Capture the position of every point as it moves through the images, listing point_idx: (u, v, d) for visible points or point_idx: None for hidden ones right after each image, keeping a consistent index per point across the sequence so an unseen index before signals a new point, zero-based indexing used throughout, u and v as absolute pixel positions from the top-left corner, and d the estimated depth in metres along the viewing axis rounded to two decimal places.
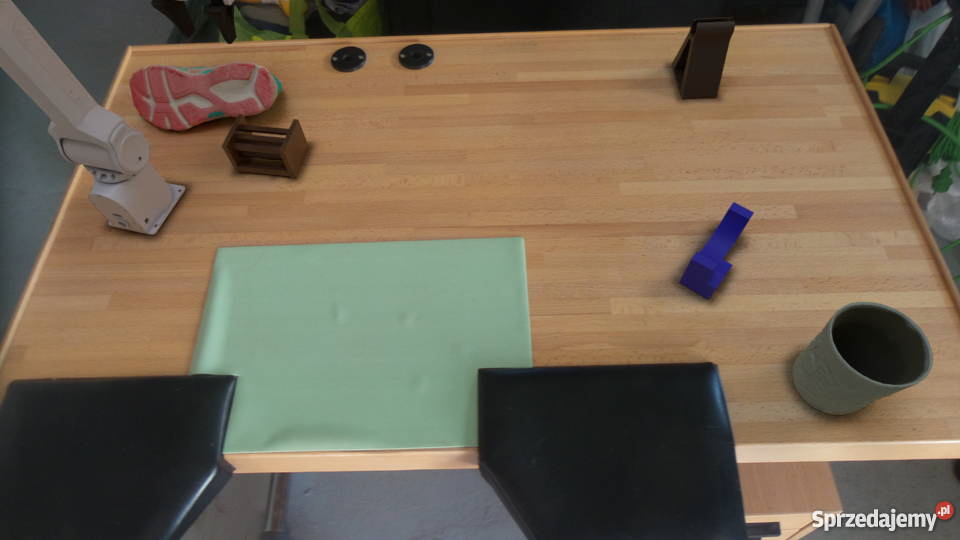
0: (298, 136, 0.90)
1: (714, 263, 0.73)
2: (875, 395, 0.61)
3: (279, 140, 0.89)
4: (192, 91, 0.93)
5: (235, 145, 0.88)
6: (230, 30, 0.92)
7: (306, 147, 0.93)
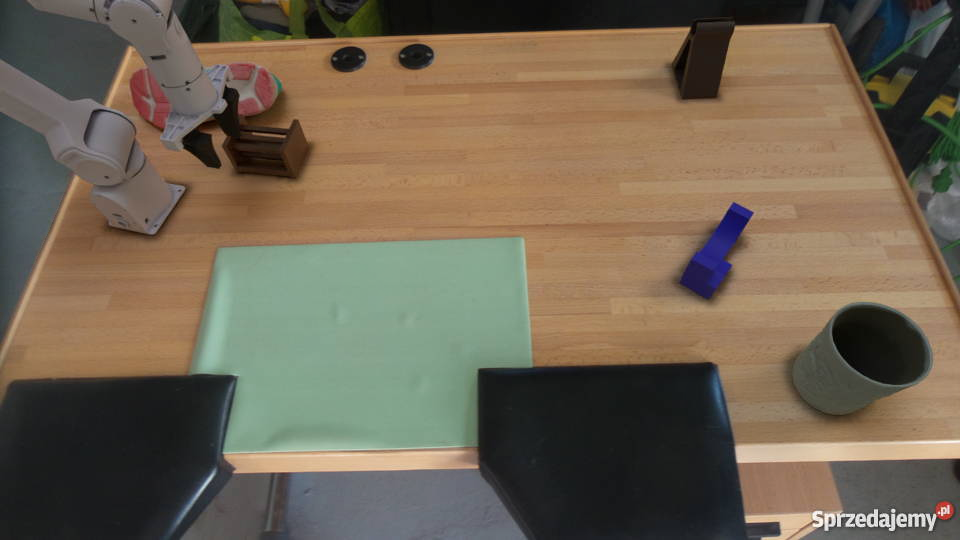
0: (298, 136, 0.90)
1: (714, 263, 0.73)
2: (875, 395, 0.61)
3: (279, 140, 0.89)
4: None
5: (235, 145, 0.88)
6: (206, 159, 0.78)
7: (306, 147, 0.93)
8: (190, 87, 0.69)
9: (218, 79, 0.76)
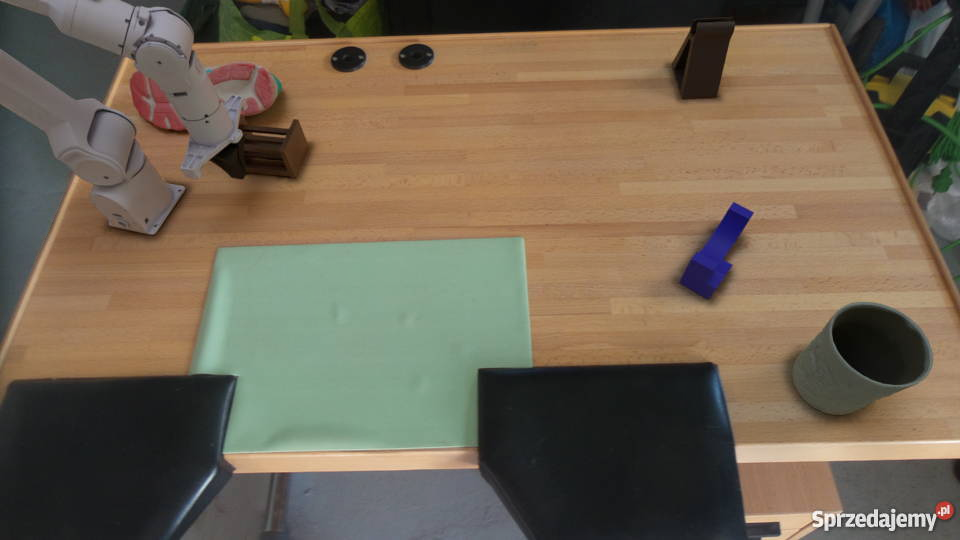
0: (298, 136, 0.90)
1: (714, 263, 0.73)
2: (875, 395, 0.61)
3: (279, 140, 0.89)
4: None
5: None
6: (231, 170, 0.84)
7: (306, 147, 0.93)
8: (209, 120, 0.74)
9: (234, 109, 0.80)
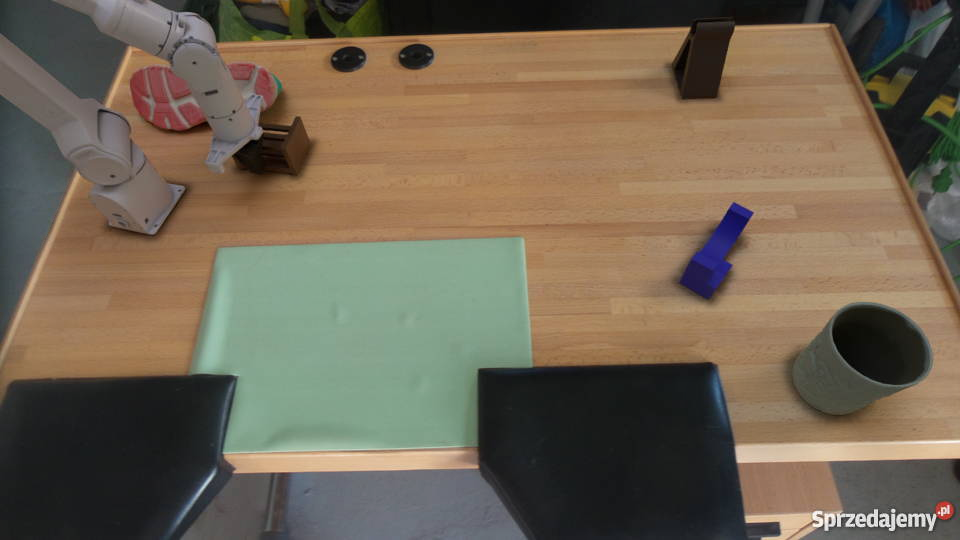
0: (300, 133, 0.90)
1: (714, 263, 0.73)
2: (875, 395, 0.61)
3: (281, 137, 0.89)
4: None
5: None
6: (251, 165, 0.88)
7: (308, 144, 0.94)
8: (232, 118, 0.78)
9: (254, 108, 0.85)
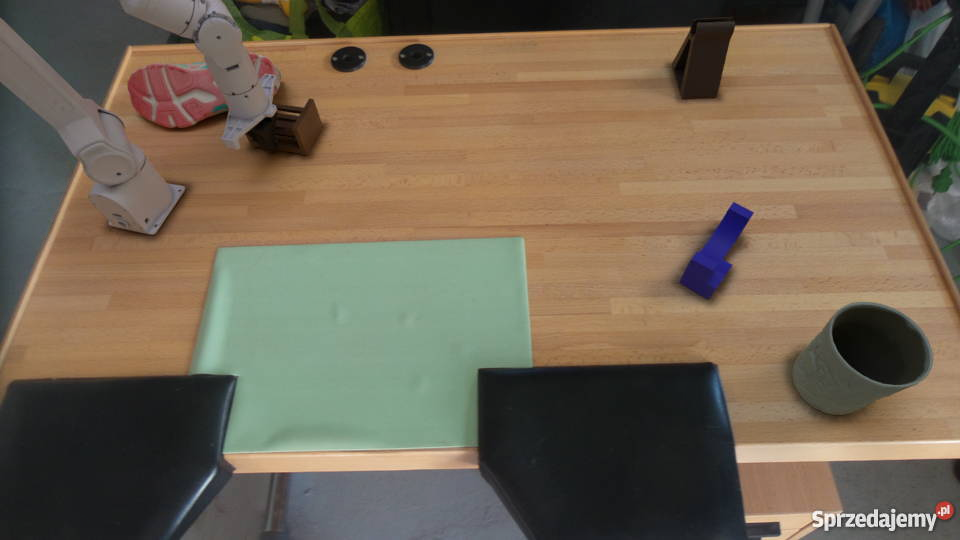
0: (312, 115, 0.92)
1: (714, 263, 0.73)
2: (875, 395, 0.61)
3: (294, 118, 0.91)
4: (195, 86, 0.94)
5: None
6: (264, 143, 0.91)
7: (320, 127, 0.96)
8: (248, 94, 0.81)
9: (268, 87, 0.87)
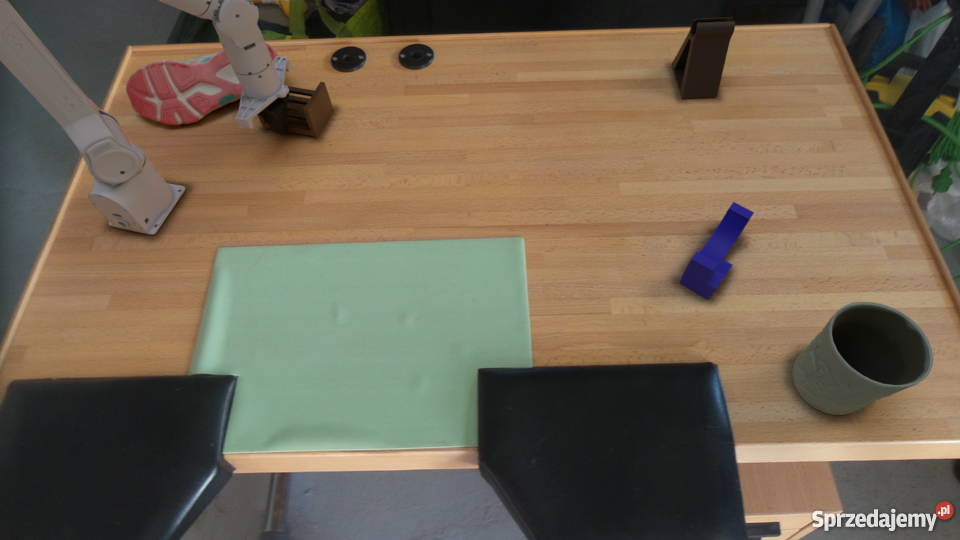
0: (323, 98, 0.95)
1: (714, 263, 0.73)
2: (875, 395, 0.61)
3: (305, 100, 0.93)
4: (198, 80, 0.95)
5: None
6: (276, 125, 0.93)
7: (330, 110, 0.98)
8: (261, 75, 0.83)
9: (280, 69, 0.90)
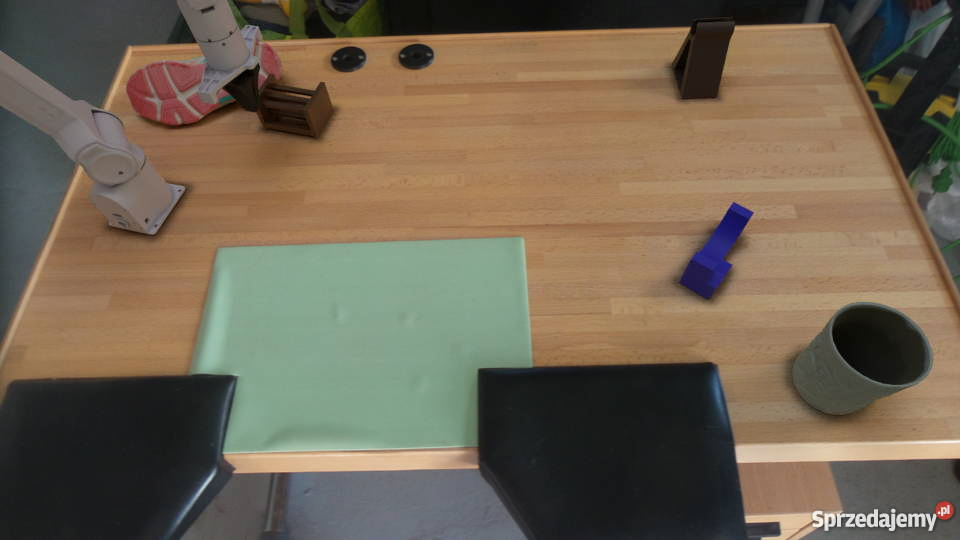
0: (323, 98, 0.95)
1: (714, 263, 0.73)
2: (875, 395, 0.61)
3: (305, 100, 0.93)
4: (198, 80, 0.95)
5: (264, 102, 0.93)
6: (245, 102, 0.84)
7: (330, 110, 0.98)
8: (225, 42, 0.74)
9: (249, 38, 0.81)
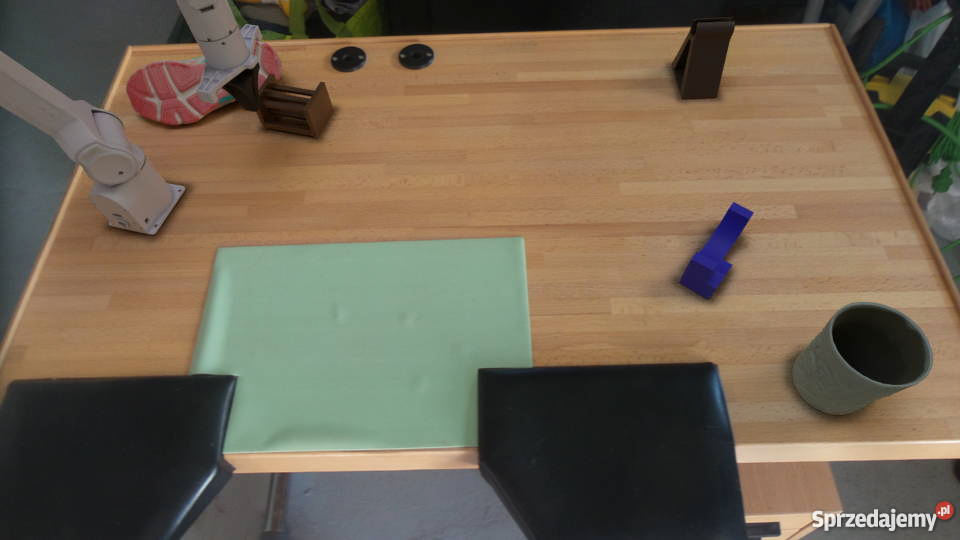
0: (323, 98, 0.95)
1: (714, 263, 0.73)
2: (875, 395, 0.61)
3: (305, 100, 0.93)
4: (198, 80, 0.95)
5: (264, 102, 0.93)
6: (245, 102, 0.84)
7: (330, 110, 0.98)
8: (225, 41, 0.74)
9: (249, 38, 0.80)
